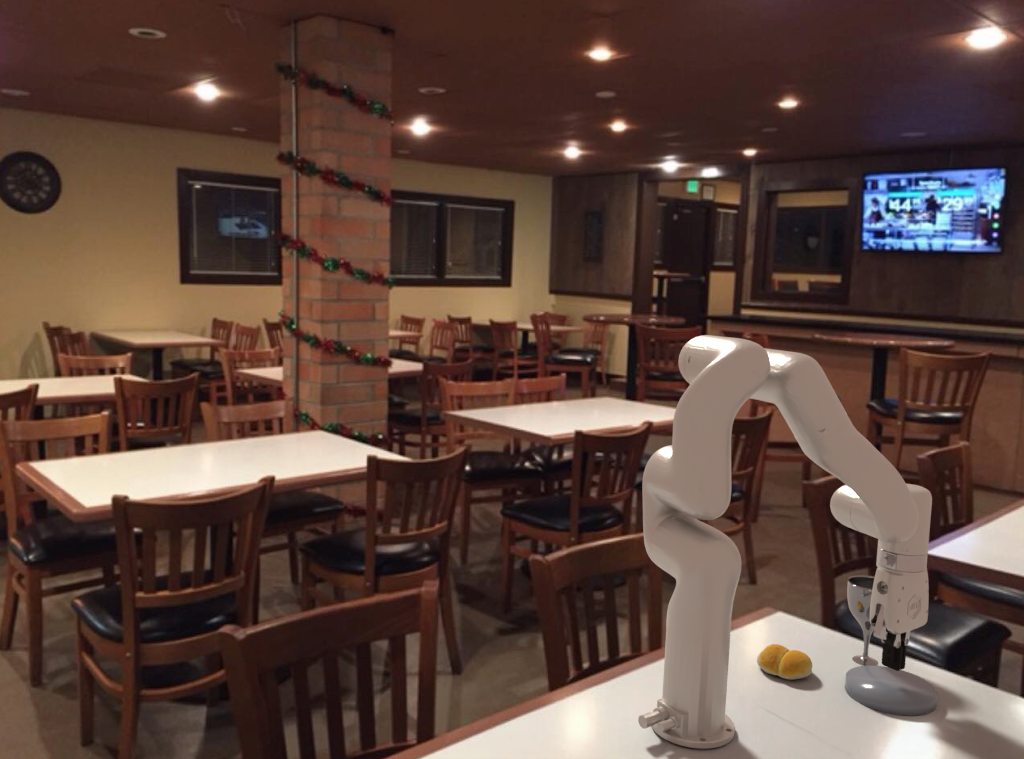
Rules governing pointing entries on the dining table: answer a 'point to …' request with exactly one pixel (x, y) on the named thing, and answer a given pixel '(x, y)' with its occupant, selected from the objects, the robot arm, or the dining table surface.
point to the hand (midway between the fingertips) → (893, 666)
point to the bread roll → (784, 662)
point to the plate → (891, 690)
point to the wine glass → (862, 612)
